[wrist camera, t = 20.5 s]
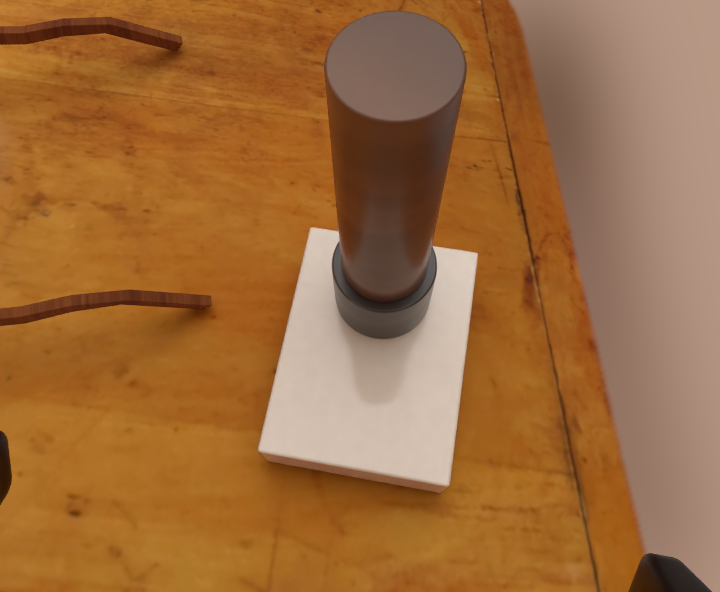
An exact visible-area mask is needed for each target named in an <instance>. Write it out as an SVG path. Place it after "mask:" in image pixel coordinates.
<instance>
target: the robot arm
mask: <svg viewBox="0 0 720 592" xmlns="http://www.w3.org/2000/svg"><path fill="white" fill-rule="evenodd" d="M11 480H12V473H11V465H10V456H9V448H8V440H7V437H6V435H5V434H4V433H3V432H2V431H0V505H1V503H2V502H3V500H4V498H5V497H6V495H7V493H8V491H9V489H10V485H11ZM629 592H712V591H711V590H710V589H708V588H707V586H706V585H705V584H704V583H703V582H702V581H701V580H700V579H698V578H697V577H696V576H695V575H694V574H693V573H692V572H691V571H690V570H689V569H688V568H687V567H686V566H685V565H684V564H683V563H682V562H681V561H680V560H678V559H676V558H673V557H668V556H663V555H657V554H652V553H649V554H646V555H644V556H643V557H642V559H641V561H640V563H639V566H638V568H637V571H636V573H635V576H634V579H633V581H632V584H631V586H630V589H629Z"/></svg>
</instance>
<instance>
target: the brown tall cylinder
mask: <svg viewBox="0 0 720 592" xmlns="http://www.w3.org/2000/svg"><path fill="white" fill-rule="evenodd" d="M324 71H325V82H326V94H327V105H328V116H329V128H330V139H331V150H332V162H333V173H334V185H335V196H336V207H337V219H338V230H339V242H338V244H337V246H336V248H335V250H334V253H333V258H332V274H333V282H334V290H335V298H336V304H337V308H338V310H339V313H340V314H341V316H342V318H343V319H344V321H345V322H346V323H347V324H348V325H349V326H350V327H351V328H352V329H354V330H355V331H357V332H358V333H360V334H363V335H365V336H368V337H371V338H377V339H390V338H395V337H399V336H401V335H404V334H406V333H408V332H410V331H411V330H412V329H414V328H415V327H416V326H417V325H418V324H419V323H420V322H421V321H422V319H423V318H424V316H425V314H426V312H427V310H428V307H429V303H430V299H431V295H432V291H433V286H434V282H435V278H436V273H437V259H436V255H435V251H434V249H433V247H432V243H433V238H434V233H435V228H436V223H437V218H438V213H439V208H440V203H441V198H442V193H443V188H444V183H445V178H446V173H447V168H448V163H449V158H450V153H451V148H452V143H453V138H454V133H455V128H456V123H457V118H458V113H459V109H460V104H461V99H462V94H463V89H464V84H465V79H466V72H467V68H466V59H465V55H464V52H463V50H462V47H461V46H460V44H459V42H458V40H457V39H456V38H455V36H454V35H453V34H452V33H451V32H450V31H449V30H448V29H447V28H445V27H444V26H443V25H441V24H440V23H438V22H436V21H435V20H433V19H431V18H428V17H426V16H423V15H420V14H417V13H412V12H406V11H383V12H378V13H373V14H370V15H366V16H364V17H361V18H359V19H357V20H355V21H353V22H352V23H350V24H349V25H347V26H346V27H345V28H343V29H342V30H341V31H340V32H339V33H338V34H337V36H336V37H335V38H334V39H333V41H332V43H331V44H330V46H329V49H328V51H327V53H326V57H325V64H324Z"/></svg>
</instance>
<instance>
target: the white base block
mask: <svg viewBox="0 0 720 592" xmlns="http://www.w3.org/2000/svg"><path fill="white" fill-rule="evenodd" d="M338 242H339V231H333V230H327V229H320V228H314V227H311V228H310V230H309V234H308V238H307V243H306V247H305V251H304V255H303V259H302V264H301V268H300V272H299V276H298V281H297V285H296V289H295V293H294V297H293V302H292V306H291V310H290V314H289V319H288V323H287V327H286V331H285V335H284V340H283V344H282V348H281V352H280V357H279V361H278V365H277V369H276V373H275V378H274V382H273V386H272V390H271V395H270V399H269V403H268V407H267V411H266V416H265V420H264V424H263V428H262V433H261V437H260V441H259V445H258V452H259V453H260V454H261V455H262V456H263V457H264V458H265V459H266V460H267V461H270V462H276V463H281V464H286V465H292V466H297V467H303V468H308V469H313V470H319V471H324V472H330V473H335V474H341V475H346V476H351V477H357V478H362V479H368V480H373V481H378V482H384V483H389V484H395V485H400V486H405V487H411V488H416V489H422V490H427V491H433V492H438V493H442V492H443V491H445V490H446V489H447V488H448V487H449V485H450V480H451V472H452V464H453V455H454V447H455V439H456V431H457V423H458V415H459V407H460V399H461V391H462V383H463V375H464V367H465V358H466V350H467V342H468V334H469V326H470V318H471V310H472V302H473V294H474V286H475V278H476V270H477V261H478V253H475V252H469V251H462V250H456V249H449V248H443V247H436V246H432V247H433V249H434V251H435V255H436V259H437V273H436V278H435V282H434V286H433V291H432V295H431V299H430V303H429V307H428V310H427V312H426V314H425V316H424V318H423V319H422V321H421V322H420V323H419V324H418V325H417V326H416V327H415V328H414V329H412V330H411V331H410V332H408V333H406V334H404V335H401V336H399V337H395V338H390V339H377V338H371V337H368V336H365V335H363V334H360V333H358V332H357V331H355V330H354V329H352V328H351V327H350V326H349V325H348V324H347V323H346V322H345V321H344V319H343V318H342V316H341V314H340V313H339V310H338V308H337V304H336V298H335V290H334V282H333V274H332V258H333V253H334V250H335V248H336V246H337V244H338Z"/></svg>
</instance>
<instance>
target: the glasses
mask: <svg viewBox="0 0 720 592" xmlns="http://www.w3.org/2000/svg"><path fill="white" fill-rule="evenodd" d="M100 33H106V34H110V35H114V36H118V37H122V38H126V39H130V40H134V41H138V42H142V43H145V44H149V45H153V46H157V47H161V48H165V49H169V50H173V51H178V49H179V48H180V46H181V45H182V38H181V36H178V35H174V34H170V33H167V32H163V31H159V30H156V29H152V28H148V27H144V26H141V25H137V24H133V23H130V22H126V21H122V20H119V19H115V18H111V17H95V18H69V19H59V20H53V21H48V22H43V23H37V24H32V25H27V26H8V27H0V45H3V44H29V43H34V42H39V41H44V40H48V39H53V38H58V37H63V36H74V35H87V34H100ZM121 304H124V305H141V306H158V307H175V308H192V309H204V308H207V307H209V306H211V296H206V295H193V294H180V293H167V292H153V291H140V290H121V291H110V292H100V293H90V294H79V295H70V296H66V297H61V298H57V299H52V300H48V301H43V302H39V303H34V304H30V305H25V306H21V307H12V308H2V309H0V326H5V325H14V324H24V323H29V322H33V321H37V320H41V319H45V318H49V317H53V316H57V315H61V314H65V313H69V312H74V311H80V310H87V309H94V308H101V307H107V306H114V305H121Z"/></svg>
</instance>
